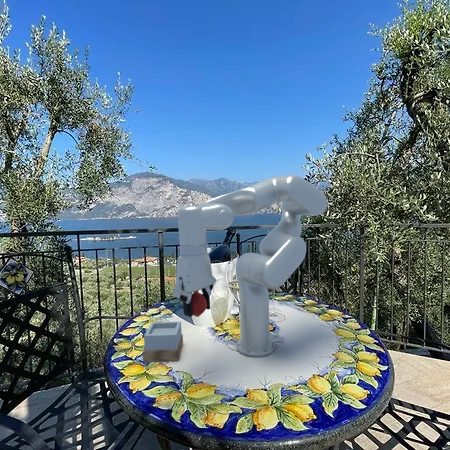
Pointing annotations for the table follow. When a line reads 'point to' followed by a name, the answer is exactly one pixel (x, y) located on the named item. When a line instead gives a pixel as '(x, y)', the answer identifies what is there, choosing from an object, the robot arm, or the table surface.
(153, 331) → the grey top block
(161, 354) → the walnut base block
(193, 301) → the onion
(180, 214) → the robot arm
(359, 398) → the table surface
